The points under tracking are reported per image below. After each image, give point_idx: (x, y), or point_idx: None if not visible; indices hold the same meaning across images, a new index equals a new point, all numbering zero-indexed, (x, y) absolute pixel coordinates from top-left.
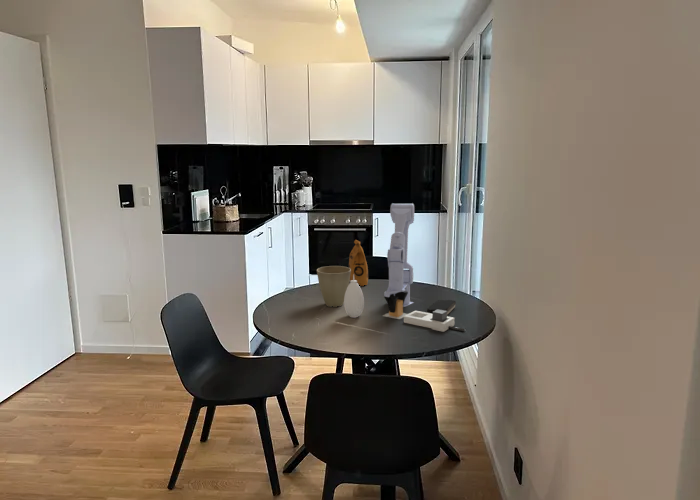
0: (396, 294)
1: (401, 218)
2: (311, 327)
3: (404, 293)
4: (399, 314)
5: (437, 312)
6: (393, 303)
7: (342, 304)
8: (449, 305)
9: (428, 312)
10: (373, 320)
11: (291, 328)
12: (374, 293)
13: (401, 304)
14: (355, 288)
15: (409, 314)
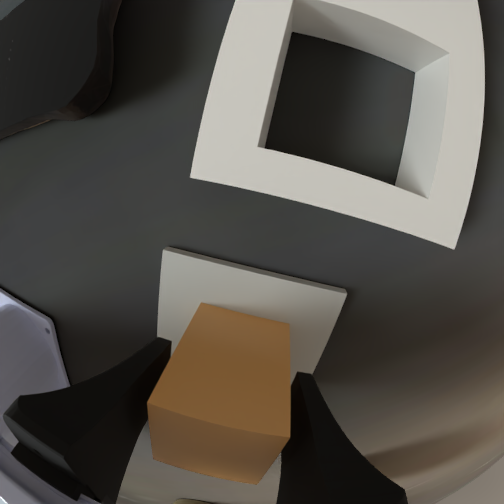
0: (116, 480)
1: None
2: (442, 478)
3: (75, 458)
4: (256, 325)
5: None
6: (350, 452)
7: (194, 501)
8: (14, 11)
9: (102, 85)
10: (372, 417)
11: (442, 489)
12: None
13: (198, 379)
14: None
15: (389, 202)
